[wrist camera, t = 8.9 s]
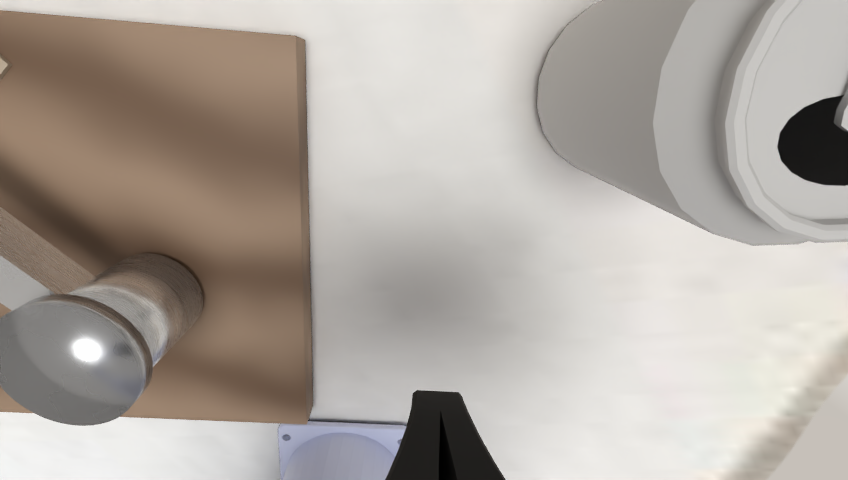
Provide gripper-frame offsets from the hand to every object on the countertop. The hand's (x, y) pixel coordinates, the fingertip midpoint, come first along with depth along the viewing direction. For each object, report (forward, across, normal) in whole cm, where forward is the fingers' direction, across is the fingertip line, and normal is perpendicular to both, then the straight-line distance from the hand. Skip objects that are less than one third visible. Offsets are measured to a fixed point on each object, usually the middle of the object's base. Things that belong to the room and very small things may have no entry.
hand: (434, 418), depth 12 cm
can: (+11, -8, -10) cm, 16 cm away
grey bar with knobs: (+9, +17, -2) cm, 19 cm away
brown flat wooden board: (+10, +16, 0) cm, 19 cm away
